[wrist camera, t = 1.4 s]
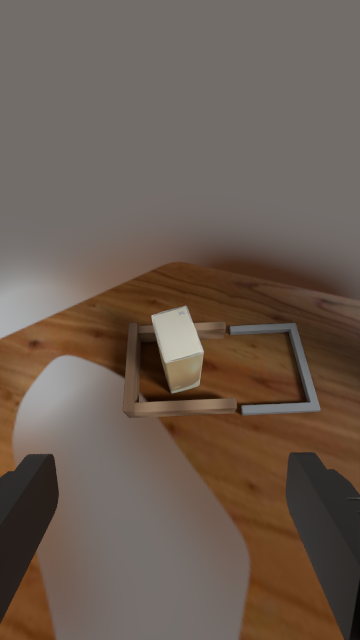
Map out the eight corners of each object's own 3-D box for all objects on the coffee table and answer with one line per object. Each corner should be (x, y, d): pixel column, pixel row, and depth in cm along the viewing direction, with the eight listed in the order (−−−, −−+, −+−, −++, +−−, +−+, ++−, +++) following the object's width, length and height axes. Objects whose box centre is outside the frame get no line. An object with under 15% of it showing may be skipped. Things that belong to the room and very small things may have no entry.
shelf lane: (223, 331, 43) (225, 318, 40) (234, 413, 37) (238, 405, 33) (133, 335, 43) (128, 322, 40) (129, 417, 37) (122, 411, 34)
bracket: (293, 326, 43) (295, 323, 42) (317, 411, 37) (320, 409, 36) (229, 329, 43) (230, 326, 42) (241, 415, 37) (243, 413, 36)
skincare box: (159, 355, 41) (149, 312, 31) (187, 348, 42) (186, 302, 31) (171, 397, 38) (163, 363, 28) (201, 387, 39) (204, 351, 28)
